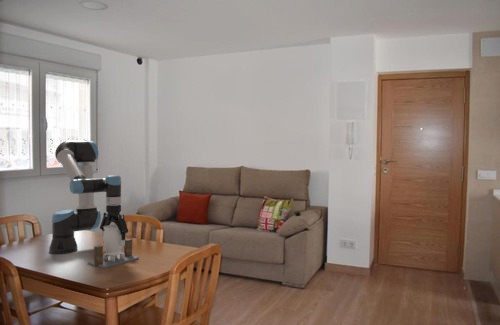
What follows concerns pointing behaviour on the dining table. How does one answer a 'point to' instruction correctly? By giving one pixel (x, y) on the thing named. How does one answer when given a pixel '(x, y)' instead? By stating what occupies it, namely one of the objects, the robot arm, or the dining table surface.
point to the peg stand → (114, 260)
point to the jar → (112, 240)
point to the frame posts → (99, 252)
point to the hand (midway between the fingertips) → (113, 244)
